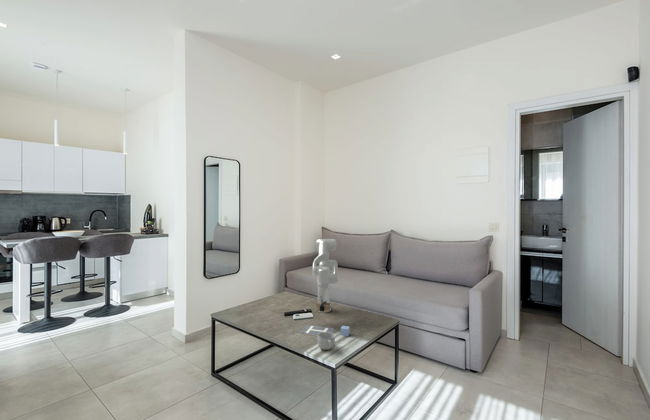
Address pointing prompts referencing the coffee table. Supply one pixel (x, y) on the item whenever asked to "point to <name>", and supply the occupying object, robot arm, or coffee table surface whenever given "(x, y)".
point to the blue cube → (345, 330)
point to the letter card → (315, 329)
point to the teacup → (326, 340)
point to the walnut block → (326, 307)
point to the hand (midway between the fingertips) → (323, 309)
